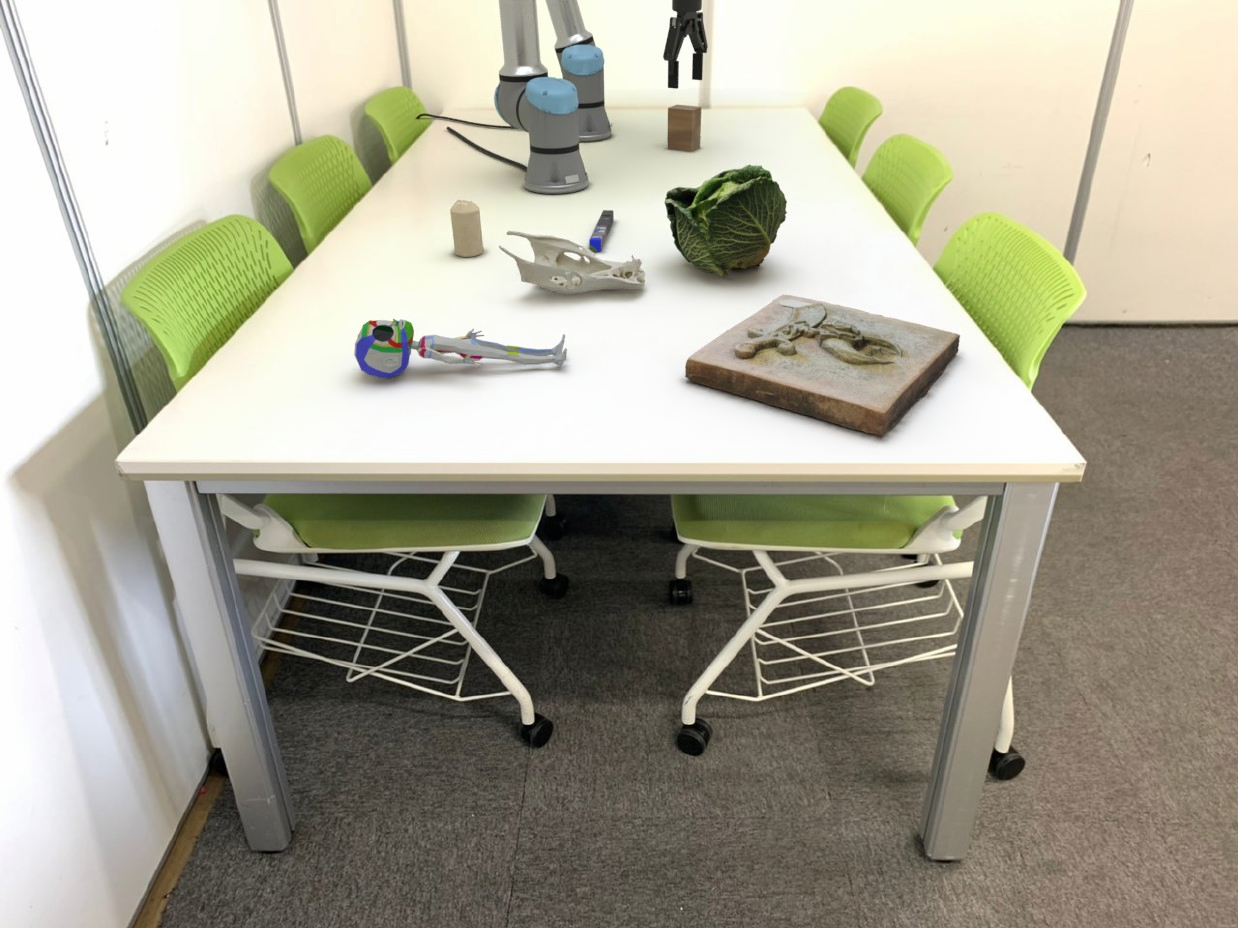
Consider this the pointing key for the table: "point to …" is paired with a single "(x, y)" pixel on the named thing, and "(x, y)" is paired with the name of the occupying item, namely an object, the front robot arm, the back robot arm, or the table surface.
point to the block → (684, 128)
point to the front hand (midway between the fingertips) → (685, 84)
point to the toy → (435, 349)
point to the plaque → (827, 362)
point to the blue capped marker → (601, 230)
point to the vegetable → (727, 219)
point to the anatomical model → (574, 267)
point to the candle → (466, 228)
